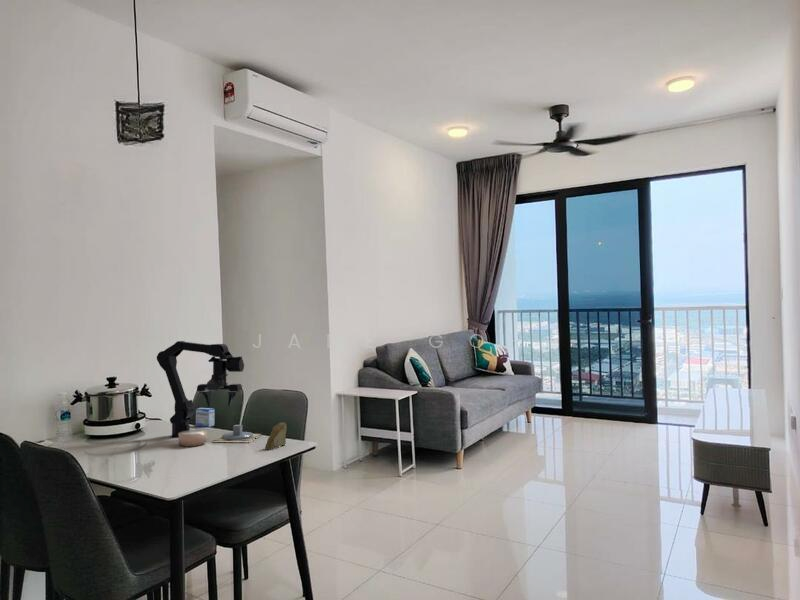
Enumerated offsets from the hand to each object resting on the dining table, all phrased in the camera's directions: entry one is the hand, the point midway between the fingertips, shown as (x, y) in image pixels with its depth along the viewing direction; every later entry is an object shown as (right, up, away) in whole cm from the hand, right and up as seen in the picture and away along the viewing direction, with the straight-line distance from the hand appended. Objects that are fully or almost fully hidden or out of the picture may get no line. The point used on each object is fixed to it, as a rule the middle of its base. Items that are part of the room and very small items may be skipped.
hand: (219, 406), depth 240 cm
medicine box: (-16, -15, +26) cm, 34 cm away
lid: (+10, -12, -8) cm, 17 cm away
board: (+11, -13, -8) cm, 18 cm away
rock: (+30, -12, -23) cm, 40 cm away
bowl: (-5, -12, -17) cm, 22 cm away
